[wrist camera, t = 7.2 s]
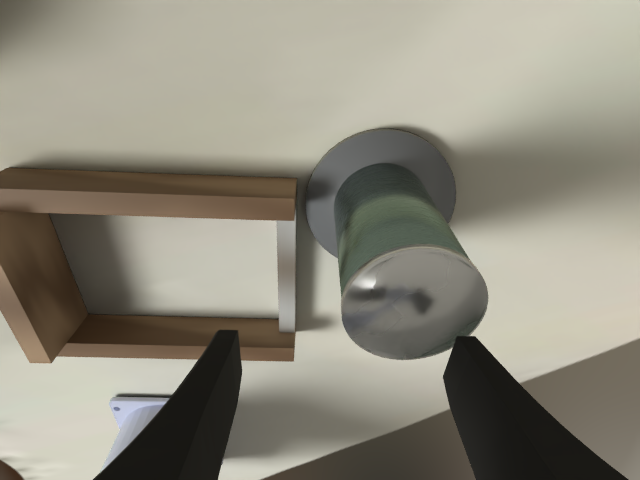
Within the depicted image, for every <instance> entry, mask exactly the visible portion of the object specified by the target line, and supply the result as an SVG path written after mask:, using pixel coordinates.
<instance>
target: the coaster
mask: <svg viewBox="0 0 640 480" xmlns="http://www.w3.org/2000/svg"><path fill="white" fill-rule="evenodd" d="M378 163H391V164H397V165H400V166H403V167H405V168H407V169H409V170H410V171H412V172H413V173H414V174H415V175H417V177H418V178H419V179H420V180H421V182H422V183H423V185H424V187H425V188H426V190H427V191H428V193H429V195H430V196H431V198H432V199H433V201H434V203H435V204H436V206H437V208H438V209H439V211H440V212H441V214H442V216H443V217H444V219H445V220H446V222H447V224H448V223H449V221H450V219H451V216H452V213H453V210H454V206H455V200H456V188H455V181H454V177H453V173H452V171H451V169H450V167H449V165H448V163H447V162H446V160H445V159H444V157H443V156H442V155H441V154H440V153H439V152H438V150H437V149H436V148H435V147H434V146H433V145H431V144H430V143H429V142H428V141H426V140H425V139H423V138H421V137H420V136H418V135H415V134H413V133H410V132H407V131H403V130H399V129H390V128H385V129H373V130H367V131H364V132H360V133H357V134H355V135H352V136H350V137H348V138H346V139H344V140H343V141H341V142H339V143H338V144H337V145H335V146H334V147H333V148H331V149H330V150H329V151H328V152H327V153H326V154H325V155H324V156H323V157H322V159H321V160H320V161H319V163H318V164H317V166H316V167H315V169H314V171H313V173H312V175H311V177H310V180H309V183H308V187H307V193H306V215H307V220H308V224H309V226H310V229H311V231H312V233H313V235H314V237H315V238H316V239H317V241H318V242H319V243H320V244H321V246H322V247H323V248H324V249H325V250H327V251H328V252H329V253H330V254H332V255H333V256H335V257H337V258H338V253H337V241H336V230H335V219H334V201H335V197H336V194H337V192H338V190H339V188H340V187H341V185H342V184H343V182H344V181H345V180H346V179H347V178H348V177H349V176H350V175H352V174H353V173H354V172H356V171H357V170H359V169H361V168H363V167H366V166H369V165H373V164H378Z"/></svg>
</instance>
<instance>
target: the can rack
mask: <svg viewBox="0 0 640 480" xmlns="http://www.w3.org/2000/svg"><path fill="white" fill-rule="evenodd" d="M48 213H63V214H93V215H124V216H155V217H185V218H216V219H246V220H277V257H278V299H279V319H251V318H211V317H171V316H131V315H91V314H88V313H87V310H86V307H85V305H84V302H83V300H82V297H81V295H80V292H79V290H78V287H77V285H76V282H75V280H74V277H73V275H72V272H71V269H70V267H69V264H68V262H67V259H66V257H65V254H64V252H63V249H62V247H61V244H60V242H59V239H58V237H57V234H56V231H55V229H54V226H53V224H52V221H51V219H50V216H49V214H48ZM296 224H297V178H273V177H245V176H217V175H190V174H162V173H134V172H106V171H79V170H51V169H23V168H6V169H4V170H2V171H0V310H1V312H2V314H3V316H4V318H5V319H6V321H7V323H8V325H9V327H10V328H11V330H12V332H13V334H14V335H15V337H16V339H17V341H18V343H19V344H20V346H21V348H22V350H23V351H24V353H25V355H26V357H27V359H28V360H29V362H30V363H52V362H53V360H54V359H55V358H56V356H65V357H111V358H156V359H199V358H200V357H201V355H202V354H203V352H204V351H205V349H206V348H207V346H208V345H209V343H210V341H211V340H212V338H213V336H214V335H215V333H216V332H217V331H218V330H238V334H239V344H240V355H241V360H248V361H294V348H295V333H296Z"/></svg>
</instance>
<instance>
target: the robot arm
mask: <svg viewBox="0 0 640 480" xmlns="http://www.w3.org/2000/svg"><path fill="white" fill-rule="evenodd" d="M241 376H242V365H241V355H240V344H239V334H238V330H218V331H217V332H216V333H215V335H214V336H213V338H212V340H211V341H210V343H209V345H208V346H207V348H206V349H205V351H204V352H203V354H202V355H201V357H200V358H199V360H198V361H197V363H196V364H195V365H194V367H193V368H192V370H191V371H190V372H189V374H188V375H187V376H186V378H185V379H184V380H183V382H182V383H181V384H180V386H179V387H178V388H177V390H176V391H175V392H174V393H173V395H172V396H171V397H170V398H147V397H113V398H111V400H110V402H109V405H110V408H111V410H112V412H113V415H114V417H115V419H116V422H117V424H118V426H119V429H120V431H119V433H118V435H117V437H116V439H115V441H114V443H113V445H112V448H111V450H110V452H109V454H108V456H107V458H106V460H105V462H104V465H103V467H102V469H101V471H100V473H99V474H98V475H97V476H96V477H95V478H94V479H93V480H218V476H219V472H220V468H221V465H222V464H223V457H224V453H225V449H226V445H227V441H228V438H229V434H230V430H231V426H232V422H233V418H234V415H235V411H236V407H237V403H238V396H239V390H240V383H241ZM443 379H444V383H445V388H446V393H447V397H448V401H449V405H450V409H451V411H452V414H453V417H454V420H455V423H456V425H457V428H458V431H459V434H460V437H461V439H462V442H463V445H464V448H465V450H466V453H467V456H468V459H469V461H470V464H471V467H472V469H473V471H474V475H475V478H476V480H628V479H627V478H626V477H624V476H623V475H622V474H620V473H619V472H618V471H616V470H615V469H614V468H613V467H611V466H610V465H609V464H607V463H606V462H605V461H603V460H602V459H601V458H600V457H599V456H597V455H596V454H595V453H594V452H593V451H591V450H590V449H589V448H588V447H587V446H585V445H584V444H583V443H582V442H581V441H580V440H578V439H577V438H576V437H575V436H573V435H572V434H571V433H570V432H569V431H568V430H567V429H566V428H564V427H563V426H562V425H561V424H560V423H559V422H558V421H557V420H556V419H555V418H554V417H553V416H552V415H551V414H549V413H548V412H547V411H546V410H545V409H544V408H543V407H542V406H541V405H540V404H539V403H538V402H537V401H536V400H535V399H534V398H533V397H532V396H531V395H530V394H529V393H528V392H527V391H526V390H525V389H524V388H523V387H522V386H521V385H520V384H519V383H518V382H517V381H516V380H515V379H514V378H513V377H512V376H511V375H510V373H509V372H508V371H507V370H506V369H505V368H504V367H503V366H502V365H501V364H500V363H499V362H498V361H497V360H496V358H495V357H494V356H493V355H492V354H491V353H490V352H489V351H488V350H487V349H486V348H485V346H484V345H483V344H482V343H481V342H480V341H479V340H478V339H477V338H476V337H475V336H457V337H456V340H455V343H454V346H453V349H452V352H451V355H450V358H449V361H448V364H447V366H446V369H445V372H444V375H443Z"/></svg>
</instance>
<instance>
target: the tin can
mask: <svg viewBox="0 0 640 480" xmlns="http://www.w3.org/2000/svg"><path fill="white" fill-rule="evenodd" d="M334 219H335V230H336V241H337V253H338V264H339V275H340V286H341V297H342V299H341V313H342V321H343V325H344V328H345V330H346V332H347V334H348V335H349V337H350V338H351V339H352V340H353V341H354V342H355V343H356V344H357V345H358V346H359V347H361V348H362V349H364V350H366V351H367V352H370V353H372V354H374V355H377V356H380V357H384V358H389V359H397V360H412V359H420V358H426V357H430V356H433V355H436V354H439V353H442V352H444V351H447V350H449V349H451V348H453V346H454V343H455V340H456V337H457V336H469V335H470V334H471V333H472V332H473V331H474V330H475V329H476V328H477V327H478V325H479V324H480V322H481V321H482V319H483V317H484V315H485V312H486V309H487V304H488V291H487V286H486V283H485V281H484V279H483V277H482V276H481V274H480V272H479V271H478V269H477V268H476V266H475V265H474V264H473V263H472V262H471V261H470V259H469V258H468V256H467V254H466V253H465V251H464V250H463V248H462V246H461V245H460V243H459V241H458V240H457V238H456V237H455V235H454V233H453V232H452V230H451V229H450V227H449V225H448V224H447V222H446V220H445V219H444V217H443V216H442V214H441V212H440V211H439V209H438V208H437V206H436V204H435V203H434V201H433V199H432V198H431V196H430V195H429V193H428V191H427V190H426V188H425V187H424V185H423V183H422V182H421V180H420V179H419V178H418V177H417V175H415V174H414V173H413V172H412V171H410V170H409V169H407V168H405V167H403V166H400V165H397V164H391V163H378V164H373V165H369V166H366V167H363V168H361V169H359V170H357V171H356V172H354V173H353V174H352V175H350V176H349V177H348V178H347V179H346V180H345V181H344V182H343V184H342V185H341V187H340V188H339V190H338V192H337V194H336V197H335V201H334Z"/></svg>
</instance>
